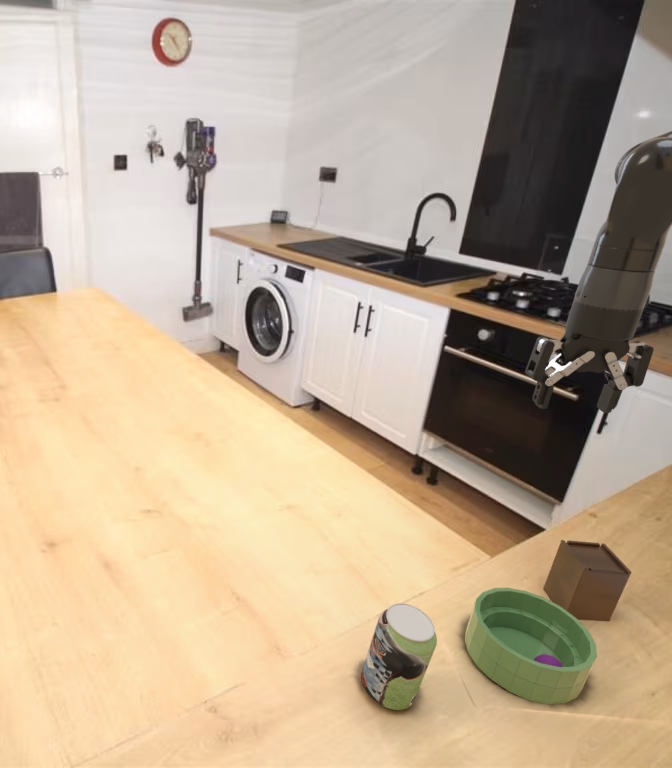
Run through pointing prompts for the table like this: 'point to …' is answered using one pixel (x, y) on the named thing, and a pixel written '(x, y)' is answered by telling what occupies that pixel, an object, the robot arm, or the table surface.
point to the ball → (548, 660)
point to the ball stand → (586, 580)
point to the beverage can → (398, 656)
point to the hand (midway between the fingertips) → (571, 408)
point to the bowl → (529, 645)
